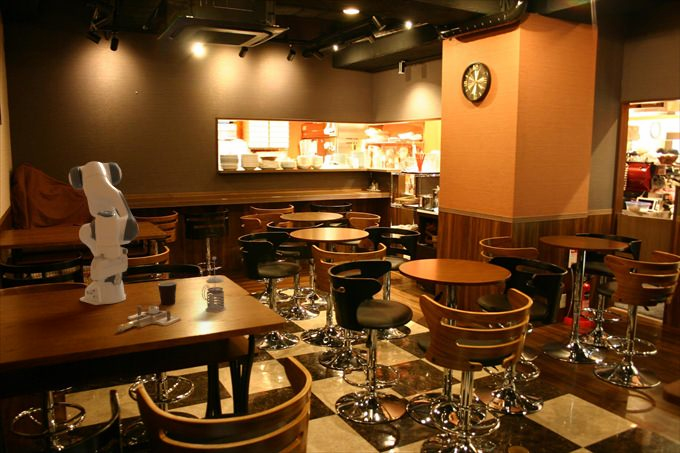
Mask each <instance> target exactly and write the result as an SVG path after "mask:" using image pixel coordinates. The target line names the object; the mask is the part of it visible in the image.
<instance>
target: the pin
mask: <svg viewBox="0 0 680 453" xmlns="http://www.w3.org/2000/svg"><path fill="white" fill-rule="evenodd" d="M136 326H139V321H138V320H134V321H131V320H130V321H128V322H125V323H124V324H122V323H121V324H118V325H117V331H118V332H119V333H123V332H125V331H126V330H128V329H132V328H134V327H136Z"/></svg>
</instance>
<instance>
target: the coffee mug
mask: <svg viewBox="0 0 680 453" xmlns="http://www.w3.org/2000/svg"><path fill="white" fill-rule="evenodd" d="M157 285H158V293H159V297H160V303H161V304H160V305H161V306H165V307H166V306H167V307H168V306H172V305H173V306H174V305H176V297H177V296H176V295H177V286H178V285H177V282H176V281H162V282H159V283H158V284H157Z"/></svg>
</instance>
